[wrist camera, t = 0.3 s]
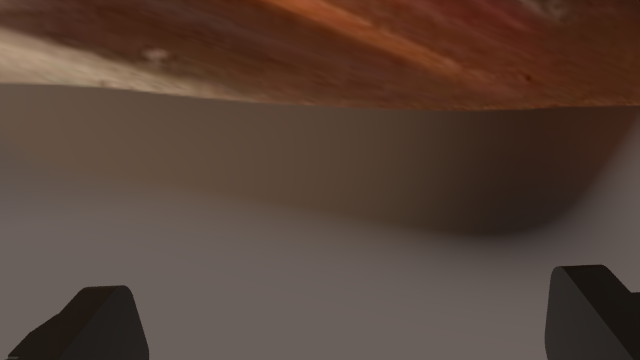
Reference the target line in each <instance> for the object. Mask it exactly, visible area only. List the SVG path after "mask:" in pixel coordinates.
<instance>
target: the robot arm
mask: <svg viewBox="0 0 640 360" xmlns="http://www.w3.org/2000/svg"><path fill="white" fill-rule="evenodd" d="M545 348H546V353H547V358H548V360H640V292H639V293H638V292H636V293H631V292H630V291H629V290H628V289H627V288H626V287H625V286H624V285H623V284H622V283H621V282H620V281H619V279H618V278H617V277H616V276H615V275H614V274H613V273H612V272H611V271H610V270H609V269H608V268H607V267H606V266H604V265H581V266H559V267H556V268H554V270H553V272H552V274H551V280H550V290H549V299H548V309H547V318H546V328H545ZM7 360H149V349H148V344H147V341H146V338H145V334H144V331H143V328H142V325H141V321H140V318H139V314H138V311H137V308H136V305H135V301H134V298H133V295H132V293H131V291H130V289H129V288H128V287H126V286H124V285H123V286H99V287H86V288H83V289H82V290H81V291H79V292H78V293H77V295H76V296H75V297H74V298H73V299H72V300H71V301H70V302H69V303H68V304H67V305H66V306H65V308H64V309H63V310H62V311H61V312H60V313H59V314H57V315H55V316H54V317H52V318H51V319H49V320H48V321H46V322H45V323H44V324H42V325H40V326H39V327H38V328H36V329H35V330H33V331H32V332H30V333H29V334H28V335H27V336H26V337H25V338H24V339H23V340H22V341H21V342H20V344H19V345H17V346H16V348H15V349H14V350H13V351H12V352H11V353H10V354H9V355H8V359H7Z"/></svg>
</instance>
